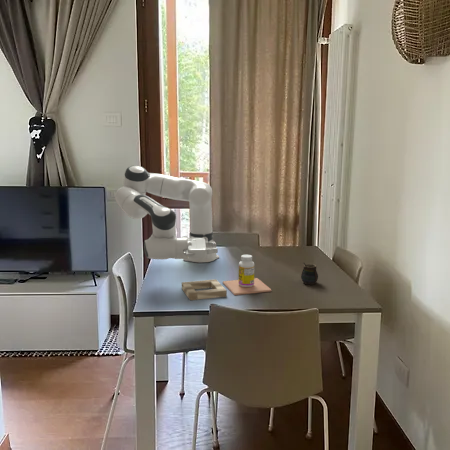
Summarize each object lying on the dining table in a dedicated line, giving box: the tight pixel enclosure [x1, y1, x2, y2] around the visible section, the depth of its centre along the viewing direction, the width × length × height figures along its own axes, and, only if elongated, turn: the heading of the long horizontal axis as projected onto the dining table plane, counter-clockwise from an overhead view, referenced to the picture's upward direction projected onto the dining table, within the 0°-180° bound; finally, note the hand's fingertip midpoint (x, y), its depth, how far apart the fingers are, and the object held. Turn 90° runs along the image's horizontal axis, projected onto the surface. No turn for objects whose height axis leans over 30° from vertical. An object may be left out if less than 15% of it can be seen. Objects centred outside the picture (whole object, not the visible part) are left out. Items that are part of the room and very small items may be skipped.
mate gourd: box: [300, 262, 319, 285], centre depth 204 cm, size 7×8×10 cm
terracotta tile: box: [222, 277, 272, 296], centre depth 199 cm, size 16×16×1 cm
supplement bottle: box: [238, 254, 256, 287], centre depth 198 cm, size 7×7×13 cm
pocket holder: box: [181, 278, 228, 301], centre depth 193 cm, size 15×15×2 cm
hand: (217, 247), depth 196 cm, fingers open, 8 cm apart
